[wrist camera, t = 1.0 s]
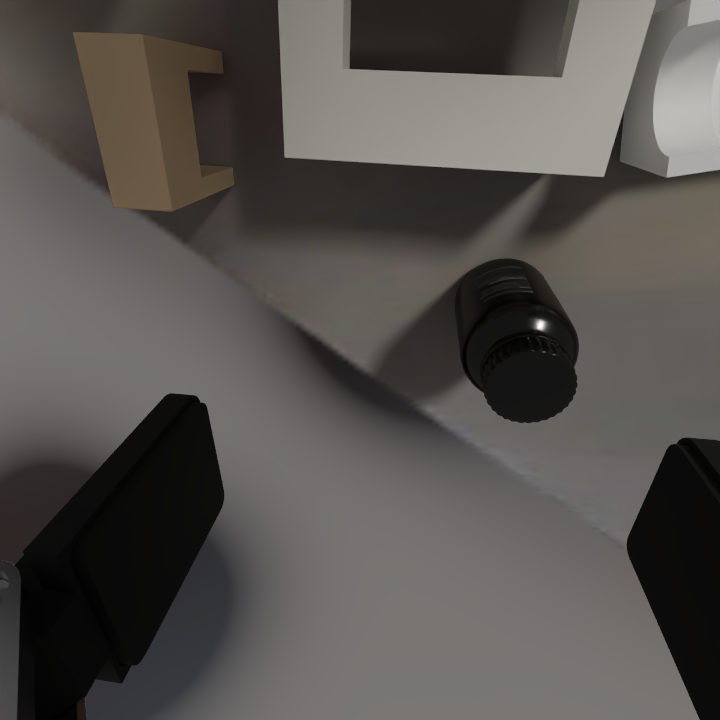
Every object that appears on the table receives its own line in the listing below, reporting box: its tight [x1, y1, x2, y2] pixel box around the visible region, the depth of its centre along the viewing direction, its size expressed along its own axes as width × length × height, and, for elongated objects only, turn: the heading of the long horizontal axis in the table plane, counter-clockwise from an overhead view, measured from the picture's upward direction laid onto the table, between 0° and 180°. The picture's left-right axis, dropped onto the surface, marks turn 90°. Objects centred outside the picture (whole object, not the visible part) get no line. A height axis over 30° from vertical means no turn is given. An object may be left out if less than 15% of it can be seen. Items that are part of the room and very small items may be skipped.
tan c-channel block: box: [73, 32, 235, 212], centre depth 27 cm, size 8×4×9 cm, turn 178°
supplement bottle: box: [455, 259, 579, 423], centre depth 29 cm, size 7×7×12 cm
